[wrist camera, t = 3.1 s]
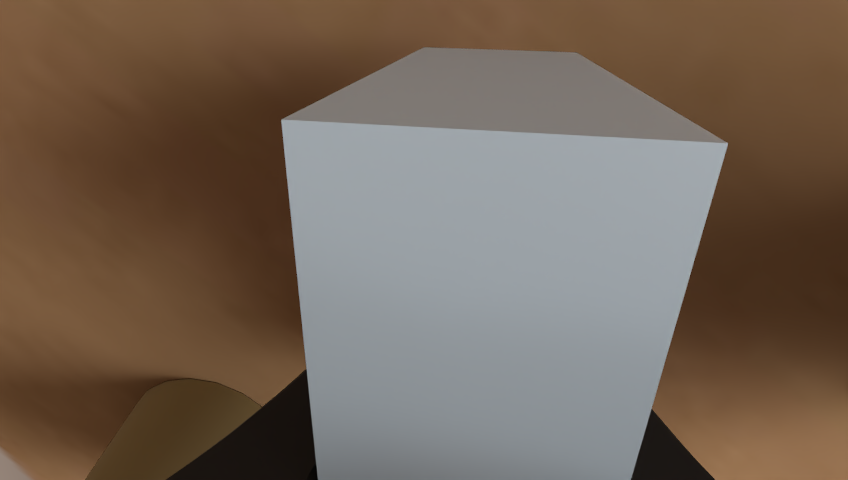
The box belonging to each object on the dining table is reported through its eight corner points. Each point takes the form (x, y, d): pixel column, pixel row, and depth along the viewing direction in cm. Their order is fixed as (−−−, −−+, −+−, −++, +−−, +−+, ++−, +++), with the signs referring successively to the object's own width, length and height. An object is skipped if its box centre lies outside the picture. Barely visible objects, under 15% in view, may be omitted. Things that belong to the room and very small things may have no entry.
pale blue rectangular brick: (424, 47, 8) (280, 120, 3) (576, 52, 8) (729, 144, 3) (415, 466, 13) (351, 807, 7) (514, 480, 12) (525, 847, 7)
